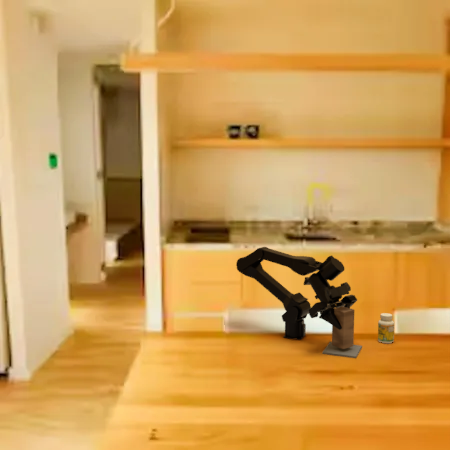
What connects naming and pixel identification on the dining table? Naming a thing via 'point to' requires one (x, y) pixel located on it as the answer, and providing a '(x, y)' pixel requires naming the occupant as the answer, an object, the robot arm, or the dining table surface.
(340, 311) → the walnut block
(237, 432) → the dining table surface
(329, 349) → the charcoal mat
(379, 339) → the supplement bottle
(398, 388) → the dining table surface
